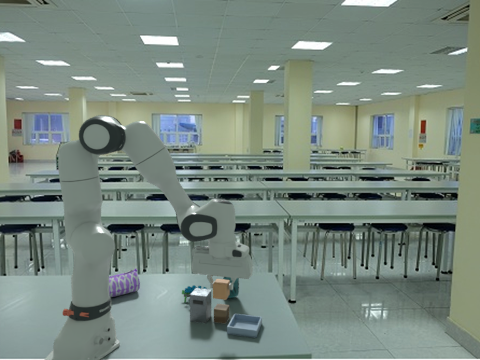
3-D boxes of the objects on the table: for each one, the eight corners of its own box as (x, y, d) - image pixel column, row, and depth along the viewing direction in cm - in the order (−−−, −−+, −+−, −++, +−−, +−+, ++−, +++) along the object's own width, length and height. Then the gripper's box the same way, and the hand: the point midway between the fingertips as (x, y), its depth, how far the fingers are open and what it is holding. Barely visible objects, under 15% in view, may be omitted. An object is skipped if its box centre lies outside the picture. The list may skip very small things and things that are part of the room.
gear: (212, 293, 161) (206, 283, 153) (211, 307, 157) (204, 297, 150) (186, 294, 163) (178, 284, 155) (184, 308, 159) (176, 299, 152)
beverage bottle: (220, 299, 159) (220, 251, 156) (226, 293, 165) (227, 246, 162) (235, 302, 157) (236, 253, 154) (241, 296, 163) (242, 248, 160)
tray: (256, 338, 130) (256, 330, 130) (227, 334, 132) (227, 326, 132) (261, 323, 140) (262, 316, 139) (234, 320, 142) (234, 313, 142)
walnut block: (225, 323, 139) (226, 310, 139) (213, 322, 140) (213, 308, 140) (229, 318, 144) (229, 305, 143) (217, 316, 145) (217, 303, 144)
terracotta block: (226, 299, 129) (226, 285, 128) (212, 298, 130) (212, 283, 129) (229, 294, 133) (229, 280, 132) (216, 292, 134) (216, 278, 133)
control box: (205, 323, 139) (206, 296, 138) (189, 321, 140) (189, 294, 139) (211, 315, 145) (211, 289, 144) (196, 313, 147) (196, 287, 146)
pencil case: (133, 285, 172) (133, 264, 171) (143, 292, 165) (143, 270, 164) (81, 299, 158) (80, 276, 157) (89, 307, 151) (89, 283, 150)
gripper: (188, 248, 129) (188, 288, 131) (250, 253, 124) (249, 295, 126) (195, 242, 135) (195, 281, 137) (254, 247, 130) (253, 287, 132)
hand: (221, 288), depth 131 cm, fingers closed on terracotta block, 4 cm apart
